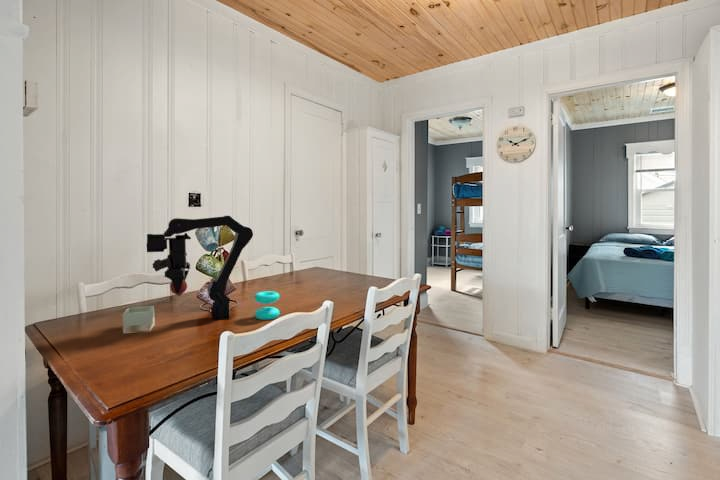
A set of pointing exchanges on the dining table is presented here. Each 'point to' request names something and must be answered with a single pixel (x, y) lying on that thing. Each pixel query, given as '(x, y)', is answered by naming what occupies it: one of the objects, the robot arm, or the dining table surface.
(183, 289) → the onion
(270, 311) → the donuts
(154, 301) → the dining table surface
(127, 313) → the pale green open box
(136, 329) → the base block
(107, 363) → the dining table surface
